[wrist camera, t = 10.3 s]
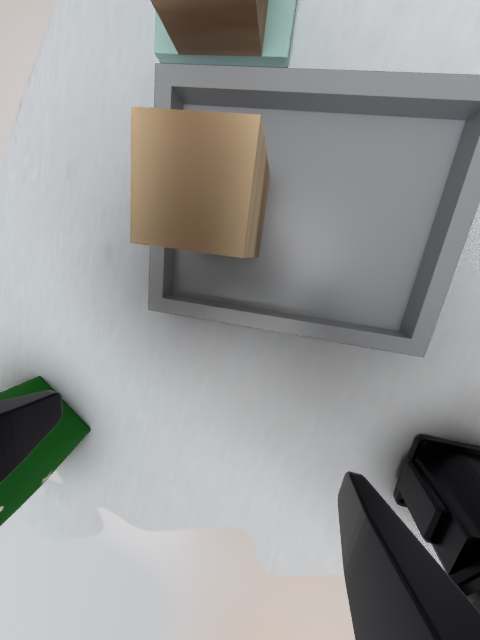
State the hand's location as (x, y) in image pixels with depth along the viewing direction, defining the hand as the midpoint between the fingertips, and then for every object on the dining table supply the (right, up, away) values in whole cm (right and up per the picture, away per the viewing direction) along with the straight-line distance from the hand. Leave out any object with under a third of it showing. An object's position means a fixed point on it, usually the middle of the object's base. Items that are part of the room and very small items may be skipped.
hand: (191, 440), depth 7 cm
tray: (+5, +10, +9) cm, 15 cm away
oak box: (+1, +11, +9) cm, 14 cm away
